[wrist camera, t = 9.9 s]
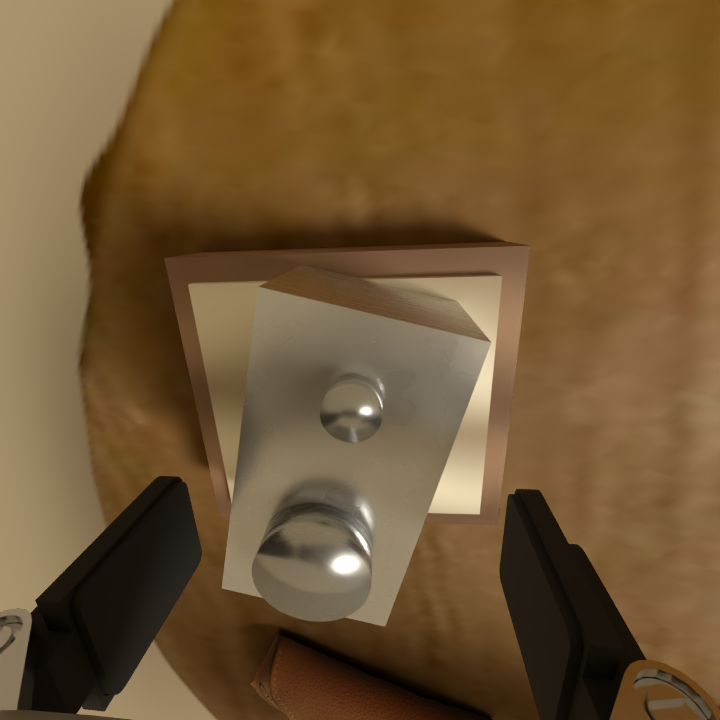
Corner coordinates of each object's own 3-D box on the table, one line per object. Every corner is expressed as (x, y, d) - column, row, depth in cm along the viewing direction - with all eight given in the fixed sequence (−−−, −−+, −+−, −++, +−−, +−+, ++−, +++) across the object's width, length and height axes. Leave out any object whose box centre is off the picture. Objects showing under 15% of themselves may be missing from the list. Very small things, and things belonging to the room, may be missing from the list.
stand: (482, 484, 21) (499, 531, 18) (241, 478, 22) (216, 522, 19) (506, 241, 16) (534, 246, 13) (200, 252, 17) (157, 258, 14)
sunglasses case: (241, 687, 29) (223, 769, 23) (281, 598, 30) (276, 651, 24) (439, 765, 31) (476, 861, 24) (470, 677, 32) (513, 747, 26)
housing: (457, 301, 14) (505, 359, 8) (386, 520, 18) (384, 664, 12) (302, 264, 14) (239, 295, 8) (266, 492, 18) (206, 622, 12)
